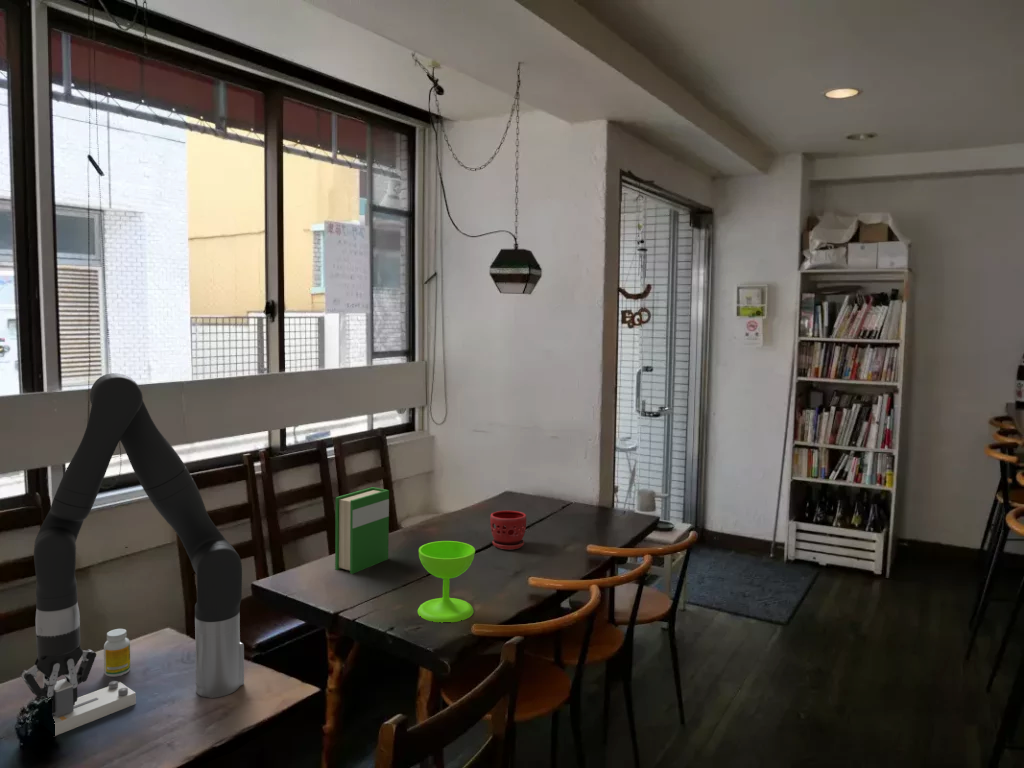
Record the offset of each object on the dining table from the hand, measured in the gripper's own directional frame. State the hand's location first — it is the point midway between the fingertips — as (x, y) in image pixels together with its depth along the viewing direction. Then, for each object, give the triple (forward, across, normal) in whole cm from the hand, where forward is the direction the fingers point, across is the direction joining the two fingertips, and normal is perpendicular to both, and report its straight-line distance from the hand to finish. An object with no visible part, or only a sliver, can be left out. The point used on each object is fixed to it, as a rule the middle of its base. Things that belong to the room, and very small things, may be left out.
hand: (61, 707), depth 152 cm
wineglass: (+4, -93, +20) cm, 95 cm away
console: (+3, -5, 0) cm, 6 cm away
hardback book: (+4, -103, -28) cm, 107 cm away
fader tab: (+1, 0, 0) cm, 1 cm away
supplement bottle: (+4, -17, -14) cm, 22 cm away
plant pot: (+4, -151, -4) cm, 151 cm away
